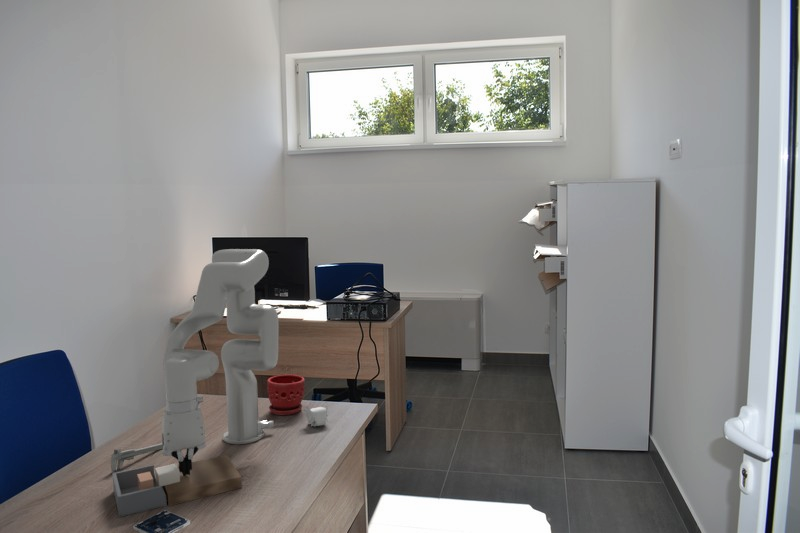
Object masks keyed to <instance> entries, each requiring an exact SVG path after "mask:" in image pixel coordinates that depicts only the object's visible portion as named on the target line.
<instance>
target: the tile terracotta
mask: <svg viewBox="0 0 800 533" xmlns="http://www.w3.org/2000/svg"><path fill="white" fill-rule="evenodd" d="M137 479H138V491H140V490H144V489H149V488H153V487H154V485H153V477H152V475H151V473H150V472H145V473H141V474H137Z"/></svg>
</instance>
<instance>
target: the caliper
mask: <svg viewBox="0 0 800 533" xmlns="http://www.w3.org/2000/svg"><path fill="white" fill-rule="evenodd" d="M163 447H164V446H163V445H162V442H161V443H158V444H153V445H149V446H145V447H142V448H138V449H134V448H133V449H132V448H131V449H126V450H123V451H121V448H117V449H113V453H112V454H111V458H110V459H111V460H110V469H111V472H112V473H115V472H117V471H118V472H120V471H122V468H123V465H124V462H125V461H130V460H134V458H135V457H136V456H140V455H144V454H148V453H152V452H155V451H160V450H163Z"/></svg>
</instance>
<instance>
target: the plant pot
mask: <svg viewBox="0 0 800 533" xmlns="http://www.w3.org/2000/svg"><path fill="white" fill-rule="evenodd" d="M266 382H267V384H266V386H267V387H266V389H267V395H268V399H269V402H270V403H269V404H270V405H269V408H268V409H269V411H270V412H271V413H272V414H274V415H276V416H289V415H290V416H291V415H294V414H296V413H299V412H300V411H301V410H302V408H303V404H302V401H303V398H304V394H305V386H306V384H305V383H306V382H305V378H304V377H303V376H301V375H298V374H297V375H296V374H281V375H275V376H271V377H269V378H268V379H267V380H266Z"/></svg>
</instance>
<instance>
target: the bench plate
mask: <svg viewBox="0 0 800 533" xmlns="http://www.w3.org/2000/svg"><path fill="white" fill-rule="evenodd" d="M177 467H178V469H179V464H178V465H177ZM242 484H243V483H242V476H241V473H239V471H238V470H237V468H236V467H235V465H234V464H233V463H232V461H231V460H230V458H229V457H228V456H227V455H226V454H224V455H219V456H215V457H210V458H206V459H201V460H196V461H192V470H190V475H187V474H186V476H183V474H182V472H180V482H177V483H173V484H169V485H165V486H162V487H163V489H164V492H165V494H166V502H167V506H173V505H178V504H181V503H185V502H189V501H193V500H197V499H201V498H206V497H210V496H214V495H217V494H221V493H226V492H229V491H234V490H237V489H238V490H239V489H241V488H243V486H242Z"/></svg>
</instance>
